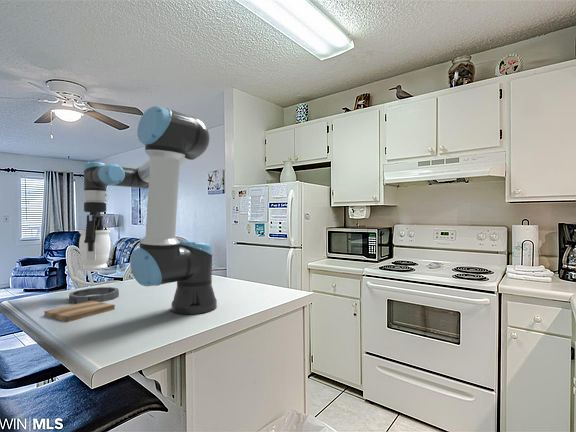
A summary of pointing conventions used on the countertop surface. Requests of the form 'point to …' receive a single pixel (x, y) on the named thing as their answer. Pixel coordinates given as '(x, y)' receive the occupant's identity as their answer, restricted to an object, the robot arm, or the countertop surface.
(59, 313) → the board
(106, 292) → the collar
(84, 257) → the jar
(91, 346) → the countertop surface
